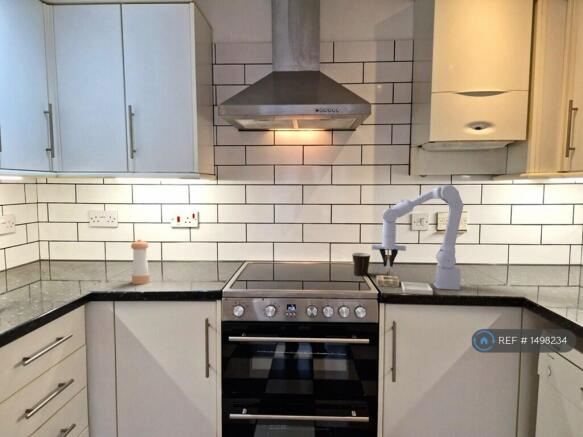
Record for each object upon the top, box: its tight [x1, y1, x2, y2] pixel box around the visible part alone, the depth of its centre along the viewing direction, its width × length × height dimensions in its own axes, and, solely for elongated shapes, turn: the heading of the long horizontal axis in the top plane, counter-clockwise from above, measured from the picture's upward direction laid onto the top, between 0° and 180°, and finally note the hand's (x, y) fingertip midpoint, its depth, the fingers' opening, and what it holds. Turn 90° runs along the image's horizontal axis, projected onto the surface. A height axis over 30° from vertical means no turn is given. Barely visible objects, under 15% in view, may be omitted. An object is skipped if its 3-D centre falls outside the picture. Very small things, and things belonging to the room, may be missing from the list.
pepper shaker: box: [130, 238, 151, 285], centre depth 164 cm, size 7×7×19 cm
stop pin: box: [384, 254, 392, 275], centre depth 164 cm, size 2×2×8 cm
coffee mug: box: [352, 252, 371, 277], centre depth 180 cm, size 12×9×10 cm
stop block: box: [376, 274, 400, 288], centre depth 165 cm, size 9×9×2 cm
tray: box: [400, 281, 434, 296], centre depth 155 cm, size 11×11×2 cm
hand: (388, 266), depth 164 cm, fingers closed on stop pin, 2 cm apart
